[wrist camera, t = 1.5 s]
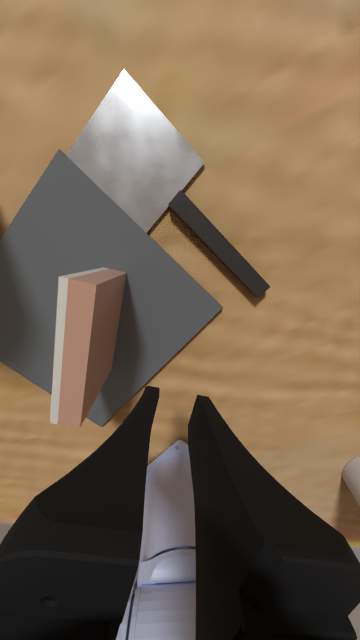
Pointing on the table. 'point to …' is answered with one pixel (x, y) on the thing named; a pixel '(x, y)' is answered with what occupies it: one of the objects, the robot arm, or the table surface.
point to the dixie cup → (353, 477)
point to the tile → (84, 340)
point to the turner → (149, 169)
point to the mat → (82, 255)
